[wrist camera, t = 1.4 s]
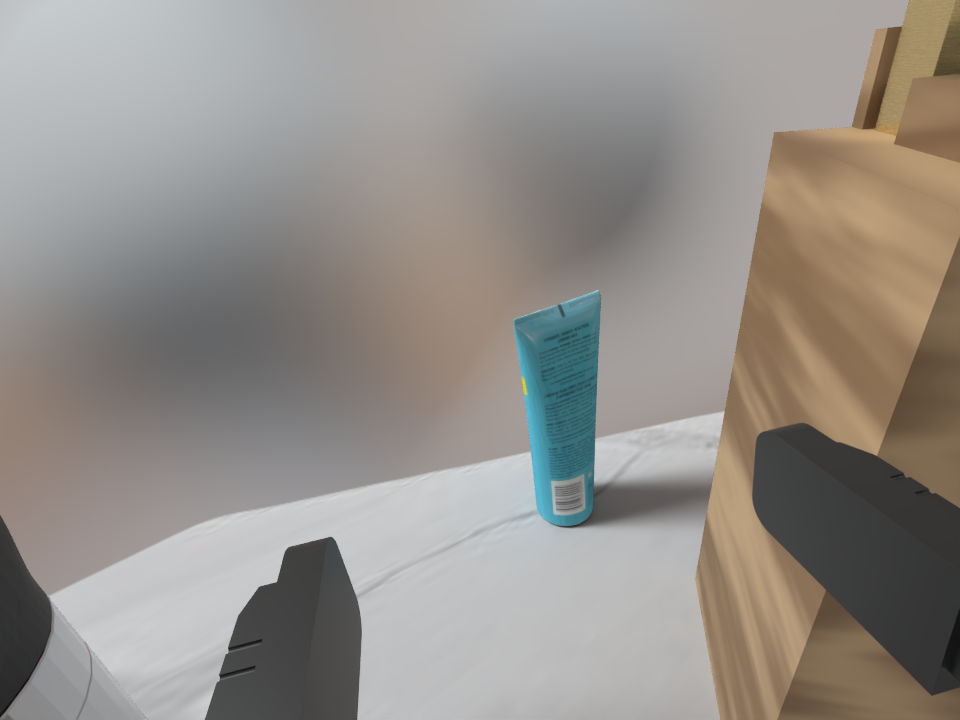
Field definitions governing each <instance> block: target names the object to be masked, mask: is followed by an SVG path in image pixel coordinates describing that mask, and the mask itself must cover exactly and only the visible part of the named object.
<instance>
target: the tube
mask: <svg viewBox="0 0 960 720" xmlns="http://www.w3.org/2000/svg"><path fill="white" fill-rule="evenodd" d="M600 308H601V295H600V291H595V292H592V293H590V294H586V295H584V296H581V297H578V298H576V299H572V300H570V301H567V302H564V303H561V304H559V305H555V306H552V307H549V308H546V309H543V310H539V311H537V312H533V313H531V314H528V315H525V316H523V317H520V318H516V319H514V321H513V323H514V331H515V337H516V343H517V348H518V355H519V361H520V369H521V376H522V383H523V391H524V398H525V405H526V412H527V421H528V429H529V437H530V446H531V455H532V464H533V473H534V484H535V494H536V504H537V509H538V512H539V514H540V515H541V516H542V517H543V518H544V519H545V520H547V521H548V522H550V523H552V524H555V525H559V526H572V525H577V524H580V523H582V522H583V521H585V520H586V519H587V518H588V517H589V516H590V515H591V513H592V510H593V498H594V496H593V495H594V457H595V422H596V420H595V418H596V395H597V371H598V348H599V330H600Z"/></svg>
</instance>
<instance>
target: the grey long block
mask: <svg viewBox="0 0 960 720" xmlns="http://www.w3.org/2000/svg"><path fill="white" fill-rule="evenodd" d="M953 74H960V0H909V3H908V7H907V11H906V14H905V18H904V22H903V25H902V29H901V33H900V37H899V40H898V44H897V48H896V52H895V55H894V59H893V63H892V67H891V71H890V74H889V78H888V82H887V86H886V89H885V93H884V97H883V101H882V104H881V108H880V112H879V116H878V119H877V123H876V127H875V131H879V132H882V133H886V134H890V135H894V136H896V135H897V132H898V128H899V125H900V121H901V118H902V114H903V111H904V107H905V104H906V100H907V97H908V93H909V90H910V86H911V83H912V79H913V78H919V77H931V76H942V75H953Z"/></svg>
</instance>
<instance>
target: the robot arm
mask: <svg viewBox="0 0 960 720" xmlns="http://www.w3.org/2000/svg"><path fill="white" fill-rule="evenodd" d="M752 501H753V506H754V509H755V512H756V515H757V517H758V519H759V520H760V522H761V524H762V525H763V526H764V528H765V529H766V530H767V531H768V532H769V533H770V534H771V535H772V536H773V537H774V538H775V539H776V540H777V541H778V542H779V543H780V544H781V545H782V546H783V547H784V548H785V549H786V550H787V551H788V552H789V553H790V554H791V555H792V556H793V557H794V558H795V559H796V560H797V561H798V562H799V563H800V564H801V565H802V566H803V567H804V568H805V569H806V570H807V571H808V572H809V573H810V574H811V575H812V576H813V577H814V578H815V579H816V580H817V581H818V582H819V583H820V584H821V585H822V586H823V587H824V588H825V589H826V590H827V591H828V592H829V593H830V594H831V595H832V596H833V597H834V598H835V599H836V600H837V601H838V602H839V603H840V604H841V606H842V607H843V608H844V609H845V610H846V611H847V612H848V613H849V614H850V615H851V616H852V617H853V618H854V619H855V620H856V621H857V622H858V623H859V624H860V625H861V626H862V627H863V628H864V629H865V630H866V631H867V632H868V633H869V634H870V635H871V636H872V637H873V638H874V639H875V640H876V641H877V642H878V643H879V644H880V645H881V646H882V647H883V648H884V649H885V650H886V651H887V652H888V653H889V654H890V655H891V656H892V657H893V658H894V659H895V660H896V661H897V662H898V663H899V664H900V665H901V666H902V667H903V668H904V669H905V670H906V671H907V672H908V673H909V674H910V675H911V676H912V677H913V678H914V679H915V680H916V681H917V682H918V683H919V684H920V685H921V686H922V687H923V688H924V689H925V690H926V691H927V692H928V693H929V694H930V695H931V696H933V695H936V694H939V693H943V692H946V691H949V690H953V689H956V688H959V687H960V508H959V507H957V506H956V505H954V504H953V503H951V502H949V501H948V500H946V499H945V498H943V497H941V496H940V495H938V494H937V493H933V494H932V493H931V492H930V491H929V488H927V487H925V486H924V485H922V484H921V483H919V482H917V481H916V480H914V479H913V478H911V477H908V478H906V477H905V475H904V473H903V472H902V471H900V470H898V469H897V468H895V467H894V466H892V465H890V464H889V463H887V462H886V461H884V460H882V459H881V458H879V457H878V456H876V455H874V454H871V453H869V452H866V451H863V450H860V449H858V448H855V447H852V446H850V445H847V444H844V443H841V442H838V443H837V442H835V441H834V440H832V439H831V438H829V437H828V436H826V435H825V434H823V433H821V432H820V431H818V430H817V429H815V428H814V427H812V426H810V425H809V424H806V423H796V424H792V425H788V426H784V427H780V428H776V429H772V430H768V431H764V432H761V433H760V434H759V435H758V437H757V440H756V447H755V461H754V475H753V490H752ZM361 638H362V628H361V617H360V610H359V605H358V601H357V598H356V595H355V592H354V589H353V587H352V584H351V581H350V578H349V576H348V573H347V570H346V568H345V565H344V562H343V559H342V557H341V554H340V551H339V549H338V546H337V543H336V541H335V540H334V538H332V537H328V538H324V539H320V540H316V541H312V542H308V543H304V544H300V545H296V546H292V547H289V548H287V549H286V551H285V554H284V557H283V561H282V565H281V569H280V573H279V577H278V581H277V582H276V583H272V584H268V585H264V586H260V587H259V588H258V589H257V591H256V592H255V593H254V595H253V596H252V598H251V599H250V600H249V602H248V603H247V605H246V606H245V607H244V609H243V610H242V612H241V613H240V614H239V616H238V618H237V621H236V625H235V628H234V631H233V634H232V637H231V640H230V643H229V646H228V649H229V653H228V654H226V656H225V659H224V662H223V665H222V668H221V671H220V674H219V676H220V681H219V682H217V684H216V687H215V690H214V693H213V696H212V699H211V703H210V706H209V709H208V712H207V715H206V718H205V720H357V712H358V694H359V675H360V656H361ZM0 720H148V719H147V718H146V717H145V715H144V714H143V713H142V712H141V710H140V709H139V708H138V707H137V705H136V704H135V703H134V702H133V700H132V699H131V698H130V697H129V695H128V694H127V693H126V692H125V690H124V689H123V688H122V687H121V686H120V684H119V683H118V682H117V681H116V679H115V678H114V677H113V676H112V674H111V673H110V672H109V671H108V669H107V668H106V667H105V666H104V664H103V663H102V662H101V661H100V660H99V658H98V657H97V656H96V655H95V653H94V652H93V651H92V650H91V648H90V647H89V646H88V645H87V643H86V642H85V641H84V640H83V639H82V638H81V637H80V636H79V634H78V633H77V632H76V631H75V629H74V628H73V627H72V626H71V624H70V623H69V622H68V621H67V619H66V618H65V617H64V616H63V615H62V613H61V612H60V611H59V610H58V608H57V607H56V606H55V605H54V603H53V602H52V601H51V600H50V598H49V597H47V595H46V594H45V592H44V591H43V590H42V589H41V588H40V586H39V585H38V584H37V583H36V581H35V580H34V579H33V577H32V576H31V574H30V573H29V571H28V569H27V567H26V565H25V563H24V561H23V559H22V557H21V555H20V553H19V551H18V549H17V547H16V545H15V543H14V541H13V539H12V536H11V534H10V532H9V530H8V528H7V526H6V524H5V523H4V521H3V519H2V517H1V516H0Z"/></svg>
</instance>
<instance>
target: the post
mask: <svg viewBox="0 0 960 720" xmlns="http://www.w3.org/2000/svg"><path fill="white" fill-rule="evenodd" d="M901 29H902V27H893V28H884V29H876V30H875V34H874V39H873V43H872V47H871V51H870V55H869V59H868V63H867V67H866V71H865V75H864V79H863V83H862V88H861V92H860V96H859V100H858V104H857V108H856V112H855V117H854V120H853V125H852V127H844V128H829V129H817V130H803V131H789V132H776V133H775V132H774V137H773V142H772V148H771V153H770V159H769V165H768V171H767V176H766V181H765V187H764V193H763V198H762V204H761V210H760V215H759V221H758V227H757V233H756V238H755V244H754V250H753V255H752V261H751V266H750V273H749V278H748V283H747V289H746V295H745V300H744V306H743V312H742V317H741V323H740V329H739V334H738V340H737V346H736V351H735V357H734V363H733V368H732V374H731V380H730V385H729V391H728V397H727V402H726V408H725V414H724V419H723V425H722V431H721V436H720V442H719V448H718V453H717V459H716V465H715V470H714V476H713V482H712V487H711V493H710V499H709V504H708V510H707V516H706V521H705V527H704V533H703V538H702V544H701V550H700V555H699V561H698V567H697V572H696V578H695V579H696V584H697V590H698V596H699V601H700V607H701V612H702V618H703V623H704V629H705V635H706V640H707V646H708V651H709V657H710V663H711V668H712V674H713V679H714V685H715V690H716V696H717V702H718V707H719V713H720V718H721V720H960V687H959V688H956V689H953V690H949V691H946V692H943V693H939V694H936V695H933V696H931V695H930V694H929V693H928V692H927V691H926V690H925V689H924V688H923V687H922V686H921V685H920V684H919V683H918V682H917V681H916V680H915V679H914V678H913V677H912V676H911V675H910V674H909V673H908V672H907V671H906V670H905V669H904V668H903V667H902V666H901V665H900V664H899V663H898V662H897V661H896V660H895V659H894V658H893V657H892V656H891V655H890V654H889V653H888V652H887V651H886V650H885V649H884V648H883V647H882V646H881V645H880V644H879V643H878V642H877V641H876V640H875V639H874V638H873V637H872V636H871V635H870V634H869V633H868V632H867V631H866V630H865V629H864V628H863V627H862V626H861V625H860V624H859V623H858V622H857V621H856V620H855V619H854V618H853V617H852V616H851V615H850V614H849V613H848V612H847V611H846V610H845V609H844V608H843V607H842V606H841V604H840V603H839V602H838V601H837V600H836V599H835V598H834V597H833V596H832V595H831V594H830V593H829V592H828V591H827V590H826V589H825V588H824V587H823V586H822V585H821V584H820V583H819V582H818V581H817V580H816V579H815V578H814V577H813V576H812V575H811V574H810V573H809V572H808V571H807V570H806V569H805V568H804V567H803V566H802V565H801V564H800V563H799V562H798V561H797V560H796V559H795V558H794V557H793V556H792V555H791V554H790V553H789V552H788V551H787V550H786V549H785V548H784V547H783V546H782V545H781V544H780V543H779V542H778V541H777V540H776V539H775V538H774V537H773V536H772V535H771V534H770V533H769V532H768V531H767V530H766V529H765V528H764V526H763V525H762V524H761V522H760V520H759V519H758V517H757V515H756V512H755V509H754V506H753V501H752V490H753V475H754V461H755V447H756V440H757V437H758V435H759V434H760V433H761V432H764V431H768V430H772V429H776V428H780V427H784V426H788V425H792V424H796V423H806V424H809V425H810V426H812V427H814V428H815V429H817V430H818V431H820V432H821V433H823V434H825V435H826V436H828V437H829V438H831V439H832V440H834V441H835V442H837V443H838V442H841V443H844V444H847V445H850V446H852V447H855V448H858V449H860V450H863V451H866V452H869V453H871V454H874V455H876V456H878V457H879V458H881V459H882V460H884V461H886V462H887V463H889V464H890V465H892V466H894V467H895V468H897V469H898V470H900V471H902V472H903V473H904V475H905V477H906V478H908V477H911V478H913V479H914V480H916V481H917V482H919V483H921V484H922V485H924V486H925V487H927V488H929V491H930V492H931V493H932V494H933V493H937V494H938V495H940V496H941V497H943V498H945V499H946V500H948V501H949V502H951V503H953V504H954V505H956V506H957V507H959V508H960V74H953V75H942V76H931V77H919V78H913V79H912V83H911V86H910V90H909V93H908V97H907V100H906V104H905V107H904V111H903V114H902V118H901V121H900V125H899V128H898V132H897V135H896V136H894V135H890V134H886V133H882V132H879V131H875V127H876V123H877V119H878V116H879V112H880V108H881V104H882V101H883V97H884V93H885V89H886V86H887V82H888V78H889V74H890V71H891V67H892V63H893V59H894V55H895V52H896V48H897V44H898V40H899V37H900V33H901Z"/></svg>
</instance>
